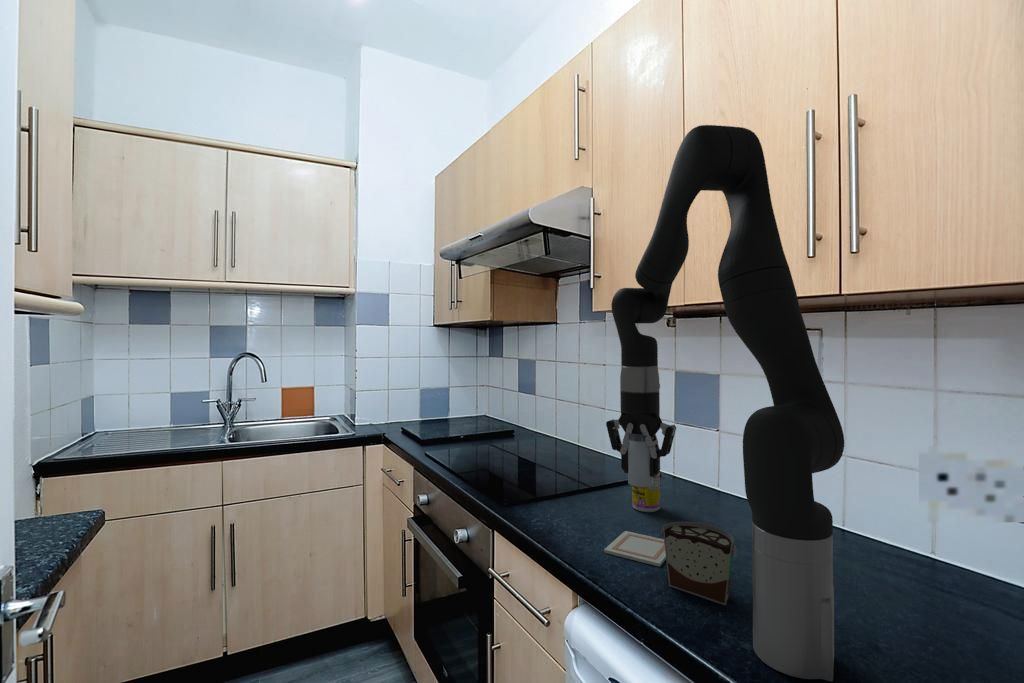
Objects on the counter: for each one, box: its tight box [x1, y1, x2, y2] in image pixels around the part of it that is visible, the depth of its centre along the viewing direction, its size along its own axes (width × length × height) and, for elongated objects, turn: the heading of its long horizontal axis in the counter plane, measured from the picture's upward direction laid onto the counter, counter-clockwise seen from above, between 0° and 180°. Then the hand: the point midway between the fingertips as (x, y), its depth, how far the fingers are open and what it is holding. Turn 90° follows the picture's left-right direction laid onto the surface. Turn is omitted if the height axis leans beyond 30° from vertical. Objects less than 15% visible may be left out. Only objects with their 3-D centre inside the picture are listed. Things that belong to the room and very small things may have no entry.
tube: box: [627, 433, 653, 487], centre depth 98 cm, size 5×5×10 cm
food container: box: [659, 521, 738, 606], centre depth 83 cm, size 12×6×10 cm, turn 48°
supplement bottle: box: [631, 471, 661, 513], centre depth 121 cm, size 7×7×13 cm
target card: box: [603, 530, 666, 568], centre depth 98 cm, size 11×11×1 cm
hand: (640, 473), depth 98 cm, fingers closed on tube, 4 cm apart
